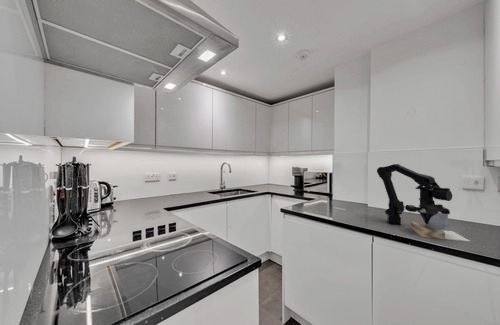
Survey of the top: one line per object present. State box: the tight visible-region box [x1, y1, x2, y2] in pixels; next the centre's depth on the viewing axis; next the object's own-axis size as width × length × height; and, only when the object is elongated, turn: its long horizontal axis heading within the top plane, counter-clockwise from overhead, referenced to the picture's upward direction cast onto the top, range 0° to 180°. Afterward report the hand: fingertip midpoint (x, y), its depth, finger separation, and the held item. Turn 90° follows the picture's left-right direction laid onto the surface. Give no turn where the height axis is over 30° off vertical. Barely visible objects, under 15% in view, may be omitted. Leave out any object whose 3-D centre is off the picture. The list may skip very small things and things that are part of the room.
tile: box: [426, 220, 445, 231], centre depth 110 cm, size 6×6×2 cm
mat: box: [442, 229, 471, 242], centre depth 108 cm, size 10×14×1 cm
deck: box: [410, 221, 446, 240], centre depth 112 cm, size 10×14×4 cm
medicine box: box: [431, 212, 449, 227], centre depth 127 cm, size 8×4×9 cm, turn 168°
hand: (426, 223), depth 111 cm, fingers closed
